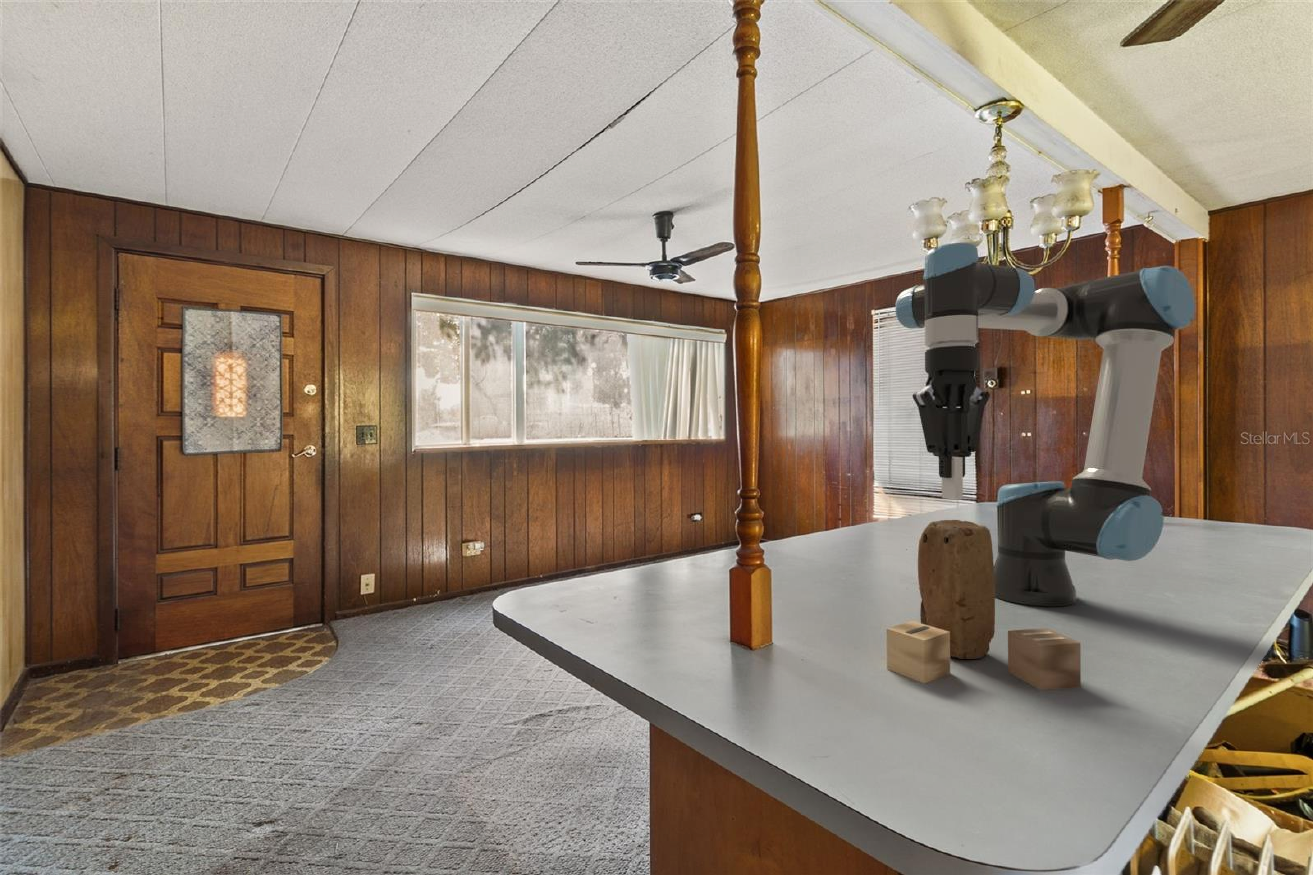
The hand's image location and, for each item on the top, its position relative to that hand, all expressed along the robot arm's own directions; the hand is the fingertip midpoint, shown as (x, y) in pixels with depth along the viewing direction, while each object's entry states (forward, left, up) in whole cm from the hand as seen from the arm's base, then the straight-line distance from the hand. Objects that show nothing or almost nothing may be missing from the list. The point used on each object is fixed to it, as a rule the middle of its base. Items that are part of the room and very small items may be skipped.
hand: (952, 498), depth 95 cm
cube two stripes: (-3, +13, -24) cm, 27 cm away
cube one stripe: (+11, +5, -24) cm, 27 cm away
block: (0, 0, -24) cm, 24 cm away
